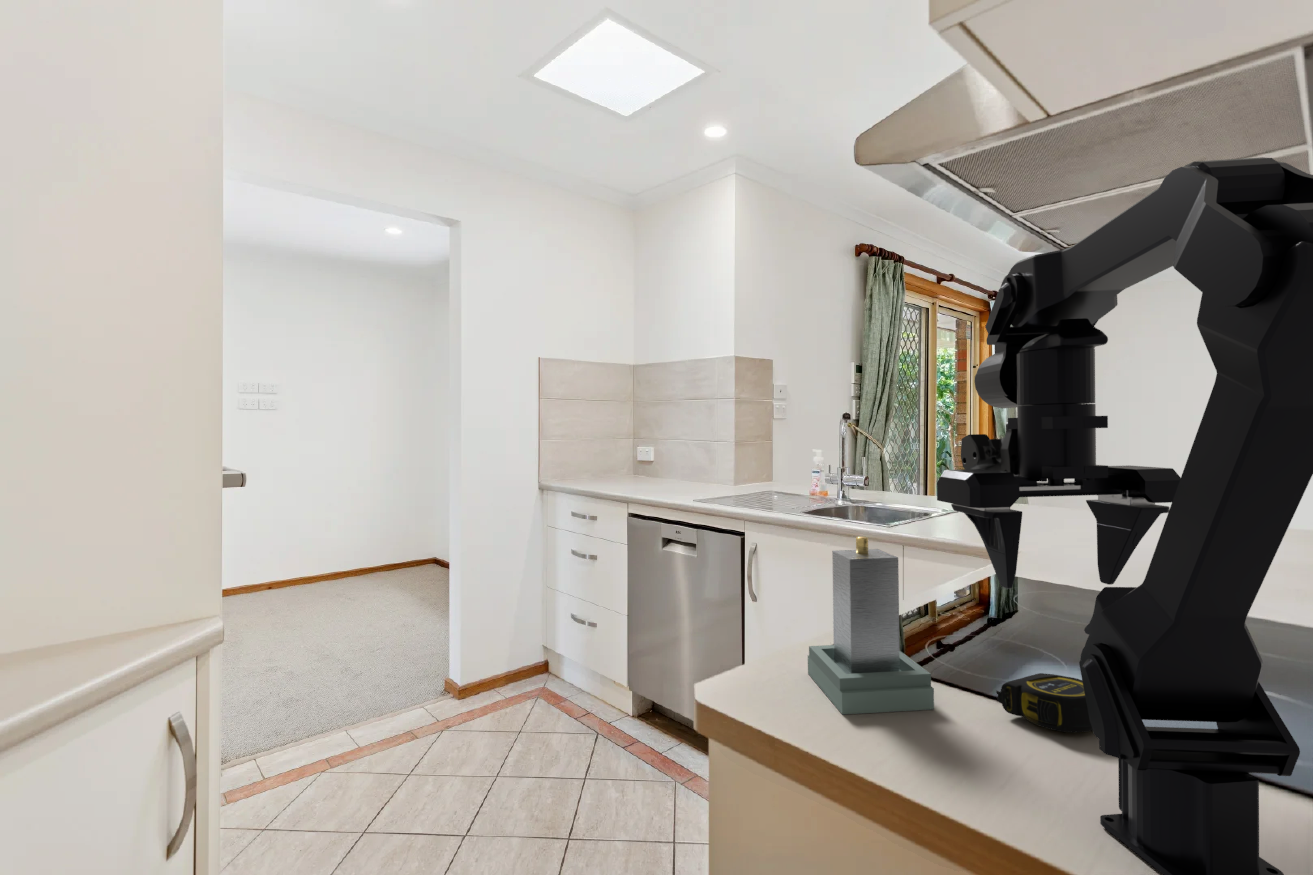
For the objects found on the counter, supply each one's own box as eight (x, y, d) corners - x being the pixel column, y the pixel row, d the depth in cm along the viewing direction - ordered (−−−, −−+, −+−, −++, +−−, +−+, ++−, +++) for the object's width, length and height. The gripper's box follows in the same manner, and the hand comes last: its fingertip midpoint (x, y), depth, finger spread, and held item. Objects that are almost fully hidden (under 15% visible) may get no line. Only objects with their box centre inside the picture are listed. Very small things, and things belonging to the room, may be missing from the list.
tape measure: (1045, 702, 61) (1045, 664, 61) (1120, 732, 55) (1120, 690, 55) (996, 716, 59) (995, 676, 59) (1069, 749, 52) (1069, 704, 52)
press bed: (933, 709, 60) (933, 675, 60) (842, 714, 59) (841, 680, 59) (887, 669, 70) (886, 640, 70) (807, 673, 69) (807, 644, 69)
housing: (899, 677, 63) (898, 541, 62) (851, 680, 62) (849, 543, 62) (879, 661, 67) (877, 533, 67) (833, 663, 67) (832, 535, 66)
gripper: (1085, 407, 63) (1087, 562, 63) (906, 409, 62) (908, 568, 62) (1188, 402, 52) (1189, 590, 52) (972, 405, 50) (974, 599, 51)
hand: (1056, 585), depth 54 cm, fingers open, 9 cm apart
